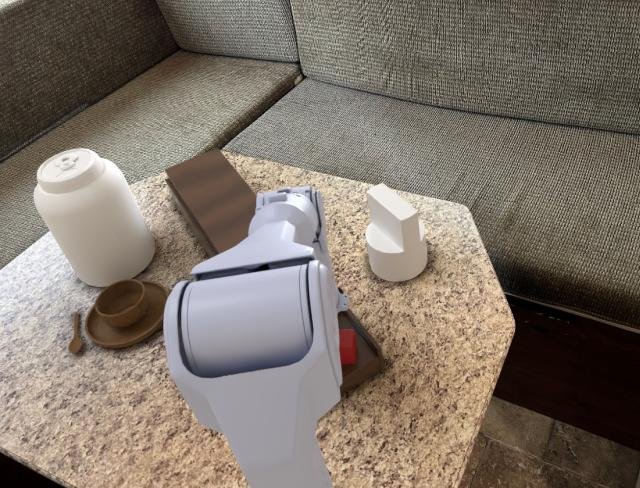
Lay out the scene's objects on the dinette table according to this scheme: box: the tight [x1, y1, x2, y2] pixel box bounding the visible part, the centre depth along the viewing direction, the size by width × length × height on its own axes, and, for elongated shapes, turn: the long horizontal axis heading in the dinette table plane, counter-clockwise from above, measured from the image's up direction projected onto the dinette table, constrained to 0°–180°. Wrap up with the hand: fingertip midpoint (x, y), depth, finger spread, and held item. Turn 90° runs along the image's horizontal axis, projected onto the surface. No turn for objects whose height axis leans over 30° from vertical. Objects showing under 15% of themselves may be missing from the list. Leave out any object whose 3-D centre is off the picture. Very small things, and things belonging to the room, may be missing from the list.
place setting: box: [67, 278, 170, 355], centre depth 85 cm, size 18×20×6 cm
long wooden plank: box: [164, 147, 385, 396], centre depth 93 cm, size 54×11×6 cm, turn 34°
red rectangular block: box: [339, 329, 357, 364], centre depth 77 cm, size 7×3×4 cm, turn 89°
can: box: [32, 147, 156, 288], centre depth 93 cm, size 12×12×20 cm
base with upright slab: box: [364, 182, 428, 283], centre depth 90 cm, size 9×9×12 cm
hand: (327, 349), depth 77 cm, fingers closed on red rectangular block, 3 cm apart
